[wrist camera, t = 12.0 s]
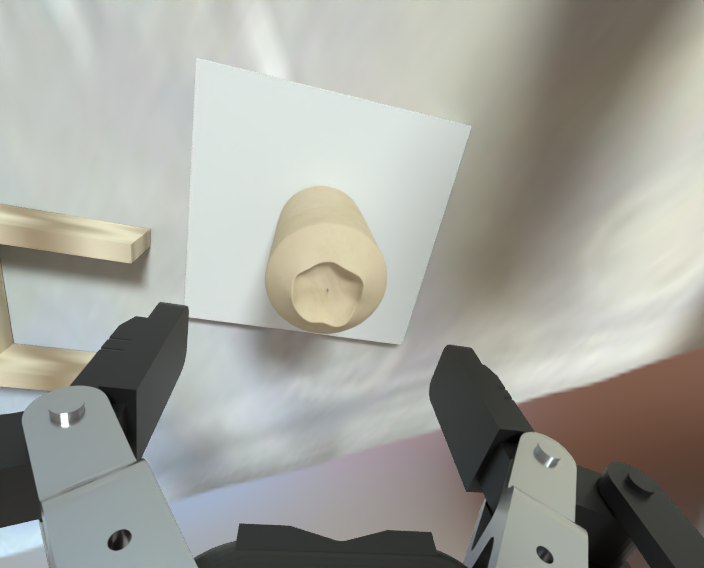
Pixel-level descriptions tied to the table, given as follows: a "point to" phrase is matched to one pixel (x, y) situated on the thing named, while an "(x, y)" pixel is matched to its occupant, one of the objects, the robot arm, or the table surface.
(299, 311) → the candle
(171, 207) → the table surface
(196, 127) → the plate
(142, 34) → the table surface
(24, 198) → the table surface
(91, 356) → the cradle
